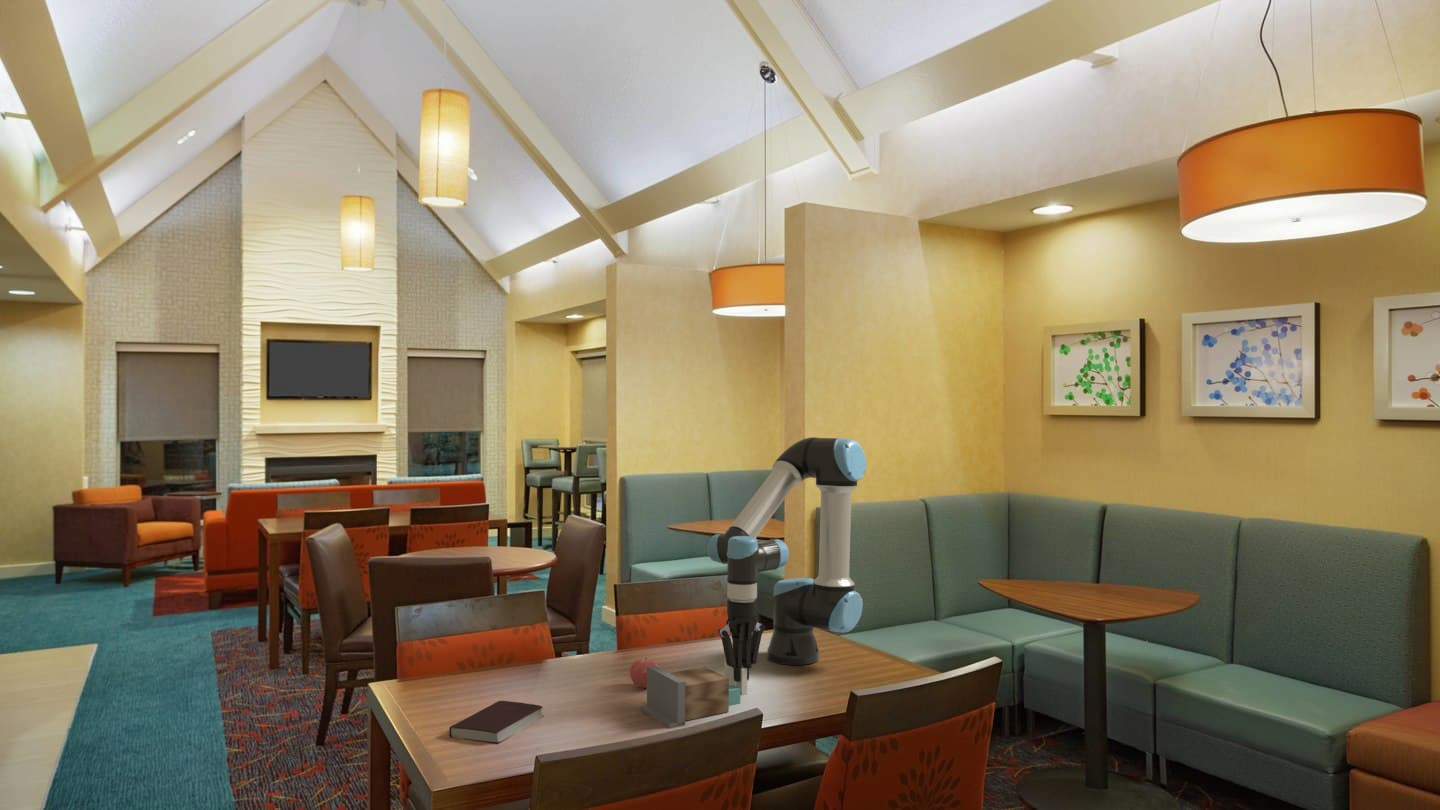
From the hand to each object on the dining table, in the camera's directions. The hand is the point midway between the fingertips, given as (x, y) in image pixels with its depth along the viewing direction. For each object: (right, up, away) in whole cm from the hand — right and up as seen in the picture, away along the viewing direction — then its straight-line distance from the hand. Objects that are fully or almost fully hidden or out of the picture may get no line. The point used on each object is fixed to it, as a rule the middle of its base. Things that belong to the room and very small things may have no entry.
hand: (741, 693), depth 224 cm
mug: (-2, -2, +14) cm, 15 cm away
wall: (-18, -2, -12) cm, 22 cm away
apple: (-25, -2, +10) cm, 27 cm away
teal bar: (-7, -2, -4) cm, 9 cm away
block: (-11, -2, -7) cm, 14 cm away
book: (-56, -2, -19) cm, 59 cm away
